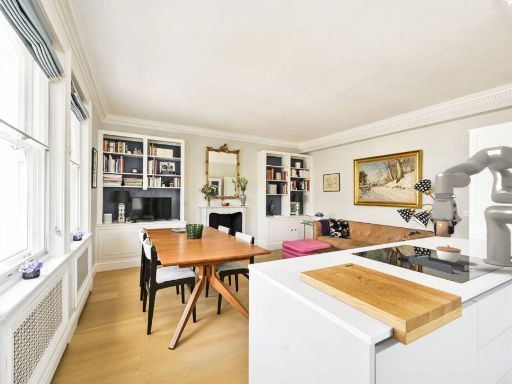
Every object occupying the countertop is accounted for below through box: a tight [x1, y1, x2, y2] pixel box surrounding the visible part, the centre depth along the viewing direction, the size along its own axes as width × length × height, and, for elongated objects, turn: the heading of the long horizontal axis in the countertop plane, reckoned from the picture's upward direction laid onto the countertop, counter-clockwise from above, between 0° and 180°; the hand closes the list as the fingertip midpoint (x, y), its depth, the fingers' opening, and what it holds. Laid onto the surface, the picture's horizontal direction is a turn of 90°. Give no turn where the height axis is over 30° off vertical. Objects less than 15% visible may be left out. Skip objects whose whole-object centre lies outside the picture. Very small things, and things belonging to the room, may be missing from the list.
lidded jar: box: [435, 245, 462, 263], centre depth 138 cm, size 11×11×9 cm
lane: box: [407, 253, 465, 275], centre depth 130 cm, size 10×22×4 cm, turn 22°
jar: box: [435, 218, 452, 239], centre depth 126 cm, size 6×6×9 cm
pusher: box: [417, 255, 429, 260], centre depth 135 cm, size 7×1×4 cm, turn 112°
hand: (443, 232), depth 126 cm, fingers closed on jar, 6 cm apart
